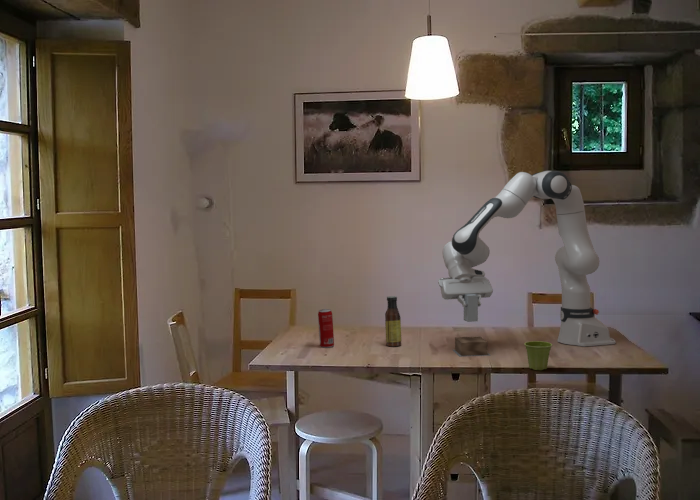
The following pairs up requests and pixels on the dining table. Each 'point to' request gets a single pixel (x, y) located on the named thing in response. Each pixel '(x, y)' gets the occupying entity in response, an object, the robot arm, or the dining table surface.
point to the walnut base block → (471, 346)
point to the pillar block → (471, 308)
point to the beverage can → (326, 328)
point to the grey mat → (472, 355)
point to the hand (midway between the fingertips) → (472, 306)
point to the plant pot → (538, 354)
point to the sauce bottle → (392, 323)
